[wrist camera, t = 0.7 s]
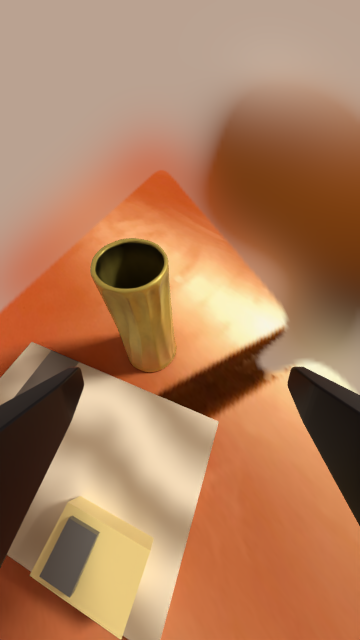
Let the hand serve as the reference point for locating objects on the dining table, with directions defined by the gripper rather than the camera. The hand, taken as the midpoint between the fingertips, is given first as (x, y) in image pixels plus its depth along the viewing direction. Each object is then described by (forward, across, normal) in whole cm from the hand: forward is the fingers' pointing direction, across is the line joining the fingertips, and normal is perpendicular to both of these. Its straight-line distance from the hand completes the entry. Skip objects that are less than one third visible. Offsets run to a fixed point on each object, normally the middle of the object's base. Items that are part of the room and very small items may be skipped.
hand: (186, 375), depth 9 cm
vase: (+15, +4, +8) cm, 18 cm away
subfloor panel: (+6, +10, +14) cm, 19 cm away
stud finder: (+1, +6, +17) cm, 18 cm away
